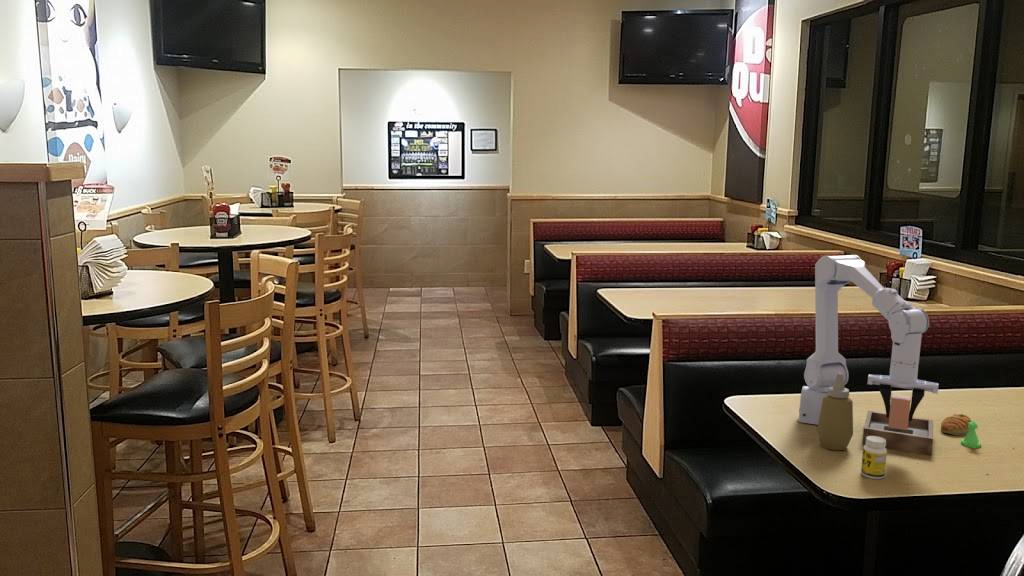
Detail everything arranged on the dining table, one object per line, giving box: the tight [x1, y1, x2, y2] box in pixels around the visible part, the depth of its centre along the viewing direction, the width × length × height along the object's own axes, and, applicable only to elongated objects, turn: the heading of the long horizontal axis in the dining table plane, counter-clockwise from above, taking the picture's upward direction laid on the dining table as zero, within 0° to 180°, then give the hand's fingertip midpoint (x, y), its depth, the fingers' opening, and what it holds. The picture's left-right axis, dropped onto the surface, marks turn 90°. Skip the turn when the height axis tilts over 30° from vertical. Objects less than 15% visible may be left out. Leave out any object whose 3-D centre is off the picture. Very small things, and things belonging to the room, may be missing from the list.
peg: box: [888, 393, 912, 430], centre depth 188 cm, size 4×4×7 cm
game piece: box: [960, 420, 982, 449], centre depth 198 cm, size 4×4×6 cm
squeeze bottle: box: [816, 373, 854, 451], centre depth 194 cm, size 8×8×18 cm
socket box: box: [861, 410, 934, 456], centre depth 201 cm, size 15×15×4 cm
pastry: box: [940, 413, 973, 436], centre depth 208 cm, size 9×7×4 cm
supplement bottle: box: [860, 436, 888, 480], centre depth 178 cm, size 5×5×8 cm
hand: (898, 418), depth 188 cm, fingers closed on peg, 4 cm apart
